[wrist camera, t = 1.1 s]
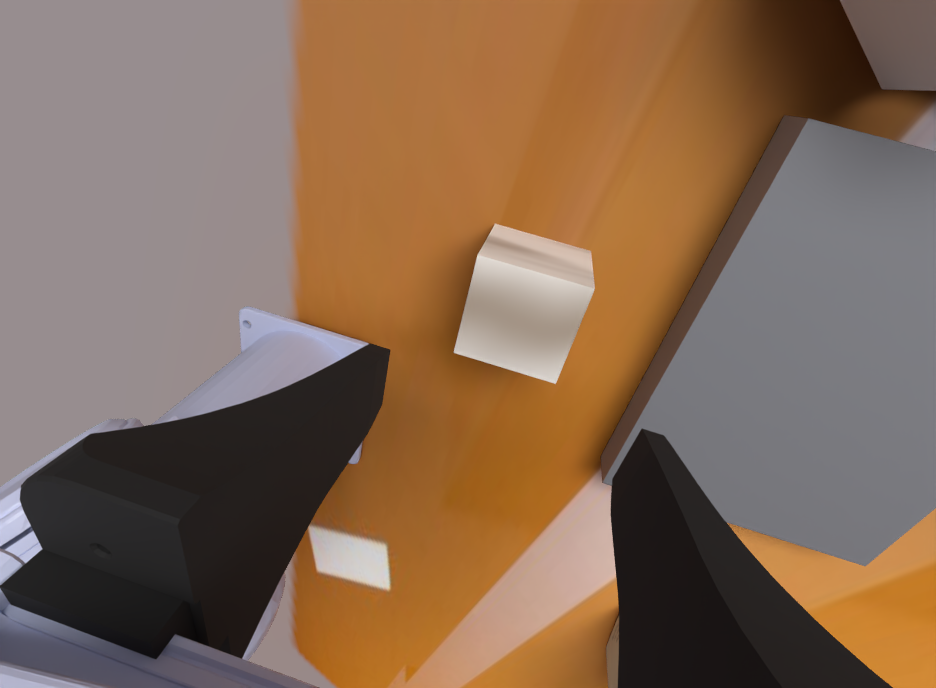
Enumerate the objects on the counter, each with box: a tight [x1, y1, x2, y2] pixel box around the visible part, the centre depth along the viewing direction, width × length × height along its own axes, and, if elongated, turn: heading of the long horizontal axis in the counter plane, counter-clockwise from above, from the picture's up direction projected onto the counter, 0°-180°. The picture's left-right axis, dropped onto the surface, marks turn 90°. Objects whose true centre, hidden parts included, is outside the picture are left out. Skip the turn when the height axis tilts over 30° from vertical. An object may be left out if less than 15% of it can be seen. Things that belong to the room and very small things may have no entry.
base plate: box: [601, 115, 936, 566], centre depth 20 cm, size 18×14×2 cm
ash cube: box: [454, 224, 595, 384], centre depth 20 cm, size 4×4×4 cm
